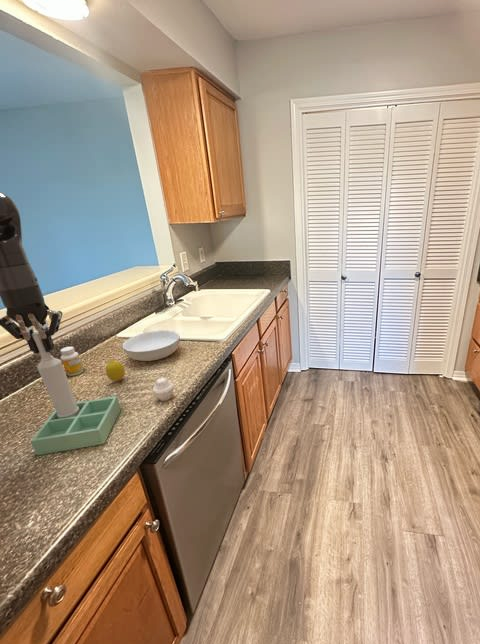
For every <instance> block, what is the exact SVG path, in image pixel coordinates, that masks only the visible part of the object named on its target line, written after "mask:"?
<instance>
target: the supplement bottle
mask: <svg viewBox="0 0 480 644" xmlns="http://www.w3.org/2000/svg"><path fill="white" fill-rule="evenodd" d="M60 353H61V355H60V360H61V362H62V365H63V368H64V371H65V373H66V376H68V377H69V376H70V377H71V376H72V377H73V376H77V375H80V374H81V373H83V372H84V371H85V368H84V366H83V363H82V361H81V357H80V355H79V352H77V351H75V347H74V346H66V347H63V348H61V349H60Z"/></svg>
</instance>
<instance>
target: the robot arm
mask: <svg viewBox="0 0 480 644" xmlns="http://www.w3.org/2000/svg"><path fill="white" fill-rule="evenodd" d="M15 203H16V202H14V200H13V199H12V198H11V197H10V196H8V195H7V194H6V193H4V192H1V191H0V300H1V302H2V304H3V306H4V307H5V308H6V312H5V313H6V315H4V316H2V317H0V327H2V328H3V329H4V330H5V331H6V332H7V333H8V334H10V336H12V337H13V338H15V339H16V340H20V339H21V340H24V341H26V343H27V345H28V347H29V349H30V351H31V352H32V353H33V354H34V355H36V354H40V353H39V350H38V348H37V345H36V343H35V341H34V338H33V336H32V334H33V333H35V331H36V332H39V334H40V336H41V338H42V339H41V340H42V343H43V345H44V348H45V350H46V352H50V353H52V352H53V350H54V348H55V344H54V339H53V337H52V336H54V335H55V334H56V333H58V332H59V329H60V325H61V322H62V318H63V311H61V310H57V311H56V310H52V309H50V307H49V306H47V304H46V302H45V297H44V295H43V292H42V290H41V287H40V284H39V282H38V277H37V275H36V274H35V272H34V270H33V267H32V266H31V263H30V261H29V258H28V256H27V253H26V250H25V248H24V246H23V232H22V221H21V215H20V211H19V209H18V207H17V205H16V204H15ZM47 317H48V318H49V320H50V323H48V321H47Z"/></svg>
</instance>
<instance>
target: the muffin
mask: <svg viewBox="0 0 480 644" xmlns="http://www.w3.org/2000/svg"><path fill="white" fill-rule="evenodd" d="M174 388H175V385H174V384H173V382H171V381H169V380H168V379H167V378H166V377H161V378H157V379H156V381H155V383H154V386H153V387H152V393H153V395H154V396H155V397H156V398H157V399H159V400H160V401H162V402H165V401H169V400H170V399H171V398H172V397H173V393H174Z"/></svg>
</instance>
